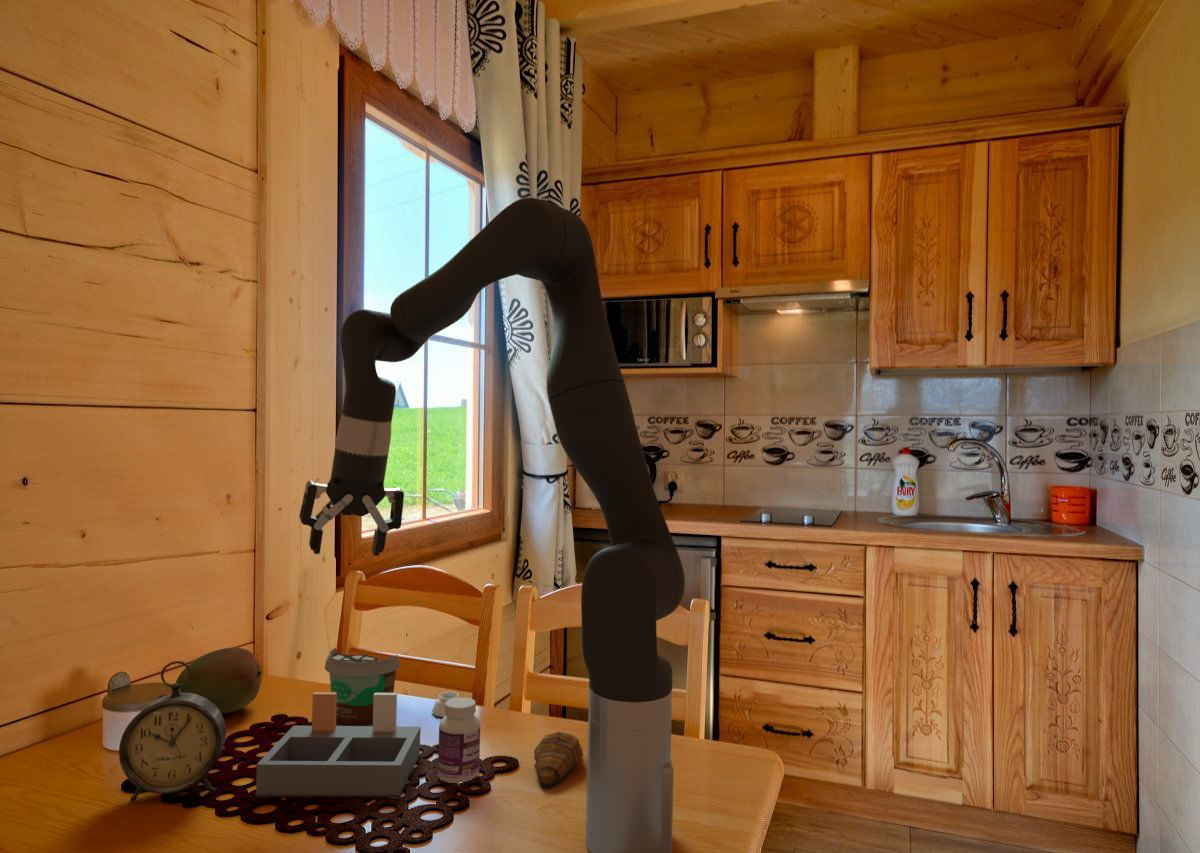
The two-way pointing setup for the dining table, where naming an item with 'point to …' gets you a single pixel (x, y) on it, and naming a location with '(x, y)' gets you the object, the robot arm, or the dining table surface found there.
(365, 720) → the food container
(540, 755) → the croissant
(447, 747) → the pill bottle
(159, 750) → the alarm clock
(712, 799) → the dining table surface
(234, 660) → the fruit
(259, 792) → the grey divided tray
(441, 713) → the white jar
